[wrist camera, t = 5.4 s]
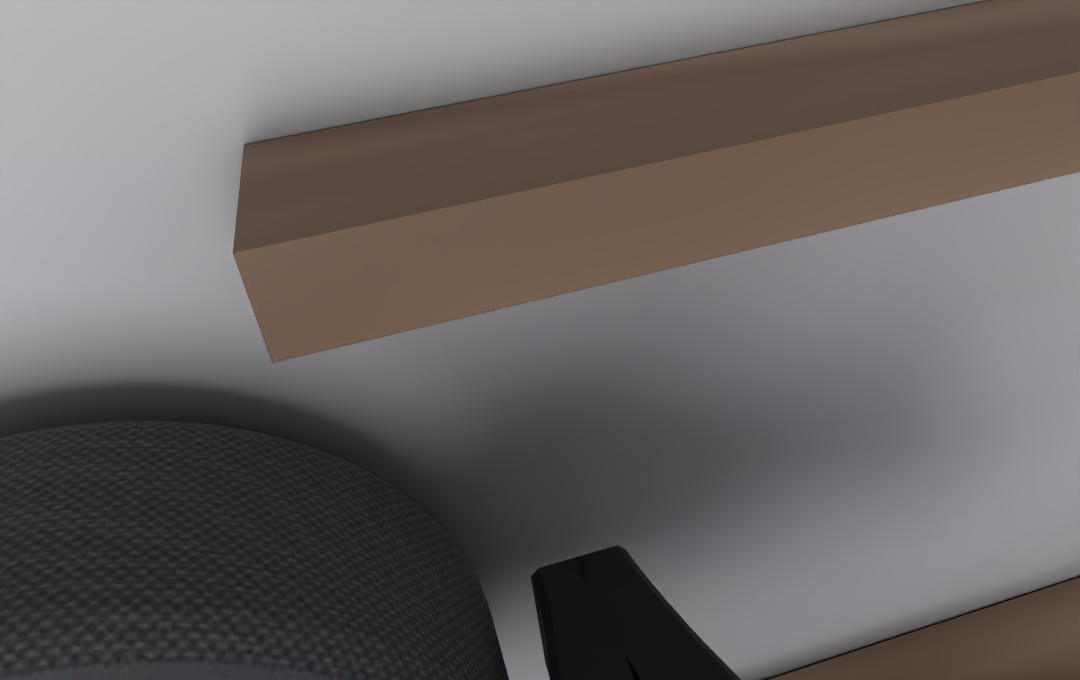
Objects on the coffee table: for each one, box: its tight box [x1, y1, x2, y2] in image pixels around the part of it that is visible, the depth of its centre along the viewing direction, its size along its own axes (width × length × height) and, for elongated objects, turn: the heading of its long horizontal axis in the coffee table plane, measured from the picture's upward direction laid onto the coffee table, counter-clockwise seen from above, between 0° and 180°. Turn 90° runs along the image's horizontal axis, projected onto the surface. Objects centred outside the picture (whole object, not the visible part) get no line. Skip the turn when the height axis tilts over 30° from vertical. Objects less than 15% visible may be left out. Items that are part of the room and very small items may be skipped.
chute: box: [233, 0, 1080, 680], centre depth 12 cm, size 13×17×2 cm
